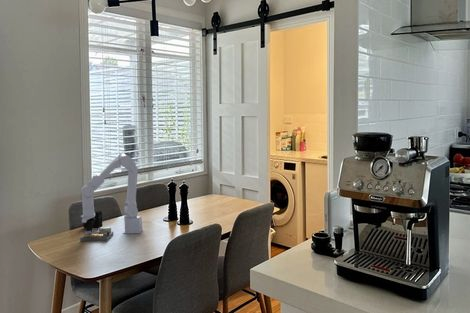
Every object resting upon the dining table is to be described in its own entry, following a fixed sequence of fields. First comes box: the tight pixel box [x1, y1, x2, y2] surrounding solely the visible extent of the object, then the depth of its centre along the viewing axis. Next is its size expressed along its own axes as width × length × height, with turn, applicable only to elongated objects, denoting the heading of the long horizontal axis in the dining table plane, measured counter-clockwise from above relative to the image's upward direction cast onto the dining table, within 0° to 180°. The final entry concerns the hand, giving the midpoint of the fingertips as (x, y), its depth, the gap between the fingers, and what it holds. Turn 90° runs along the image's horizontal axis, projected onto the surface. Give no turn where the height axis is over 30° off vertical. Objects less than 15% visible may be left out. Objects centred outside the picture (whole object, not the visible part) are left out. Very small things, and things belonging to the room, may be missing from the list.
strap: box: [82, 234, 108, 237], centre depth 215 cm, size 12×2×1 cm, turn 90°
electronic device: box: [82, 209, 103, 230], centre depth 238 cm, size 4×10×10 cm, turn 78°
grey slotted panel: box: [80, 226, 114, 243], centre depth 218 cm, size 14×11×4 cm
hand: (89, 232), depth 220 cm, fingers closed
